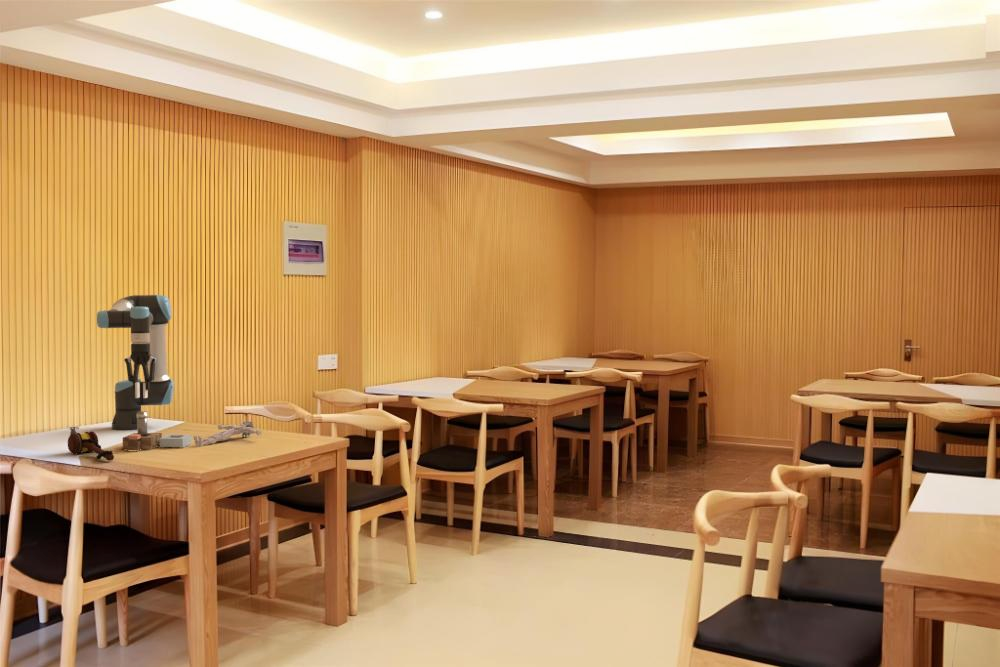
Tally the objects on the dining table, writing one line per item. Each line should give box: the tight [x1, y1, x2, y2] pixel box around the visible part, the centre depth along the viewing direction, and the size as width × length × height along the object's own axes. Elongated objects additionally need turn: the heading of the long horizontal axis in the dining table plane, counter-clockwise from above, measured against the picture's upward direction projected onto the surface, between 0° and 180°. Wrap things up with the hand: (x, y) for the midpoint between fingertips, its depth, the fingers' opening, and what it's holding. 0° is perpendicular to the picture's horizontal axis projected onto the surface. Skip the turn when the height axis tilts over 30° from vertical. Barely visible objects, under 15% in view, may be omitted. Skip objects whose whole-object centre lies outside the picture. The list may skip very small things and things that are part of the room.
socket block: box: [122, 432, 163, 451], centre depth 380 cm, size 16×12×5 cm
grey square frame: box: [159, 434, 192, 449], centre depth 385 cm, size 10×10×4 cm
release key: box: [129, 433, 141, 442], centre depth 374 cm, size 4×4×6 cm
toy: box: [193, 420, 262, 447], centre depth 397 cm, size 28×8×30 cm
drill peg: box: [136, 411, 149, 437], centre depth 382 cm, size 4×4×15 cm
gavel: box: [67, 426, 115, 462], centre depth 362 cm, size 10×34×10 cm
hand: (141, 397), depth 381 cm, fingers open, 3 cm apart
